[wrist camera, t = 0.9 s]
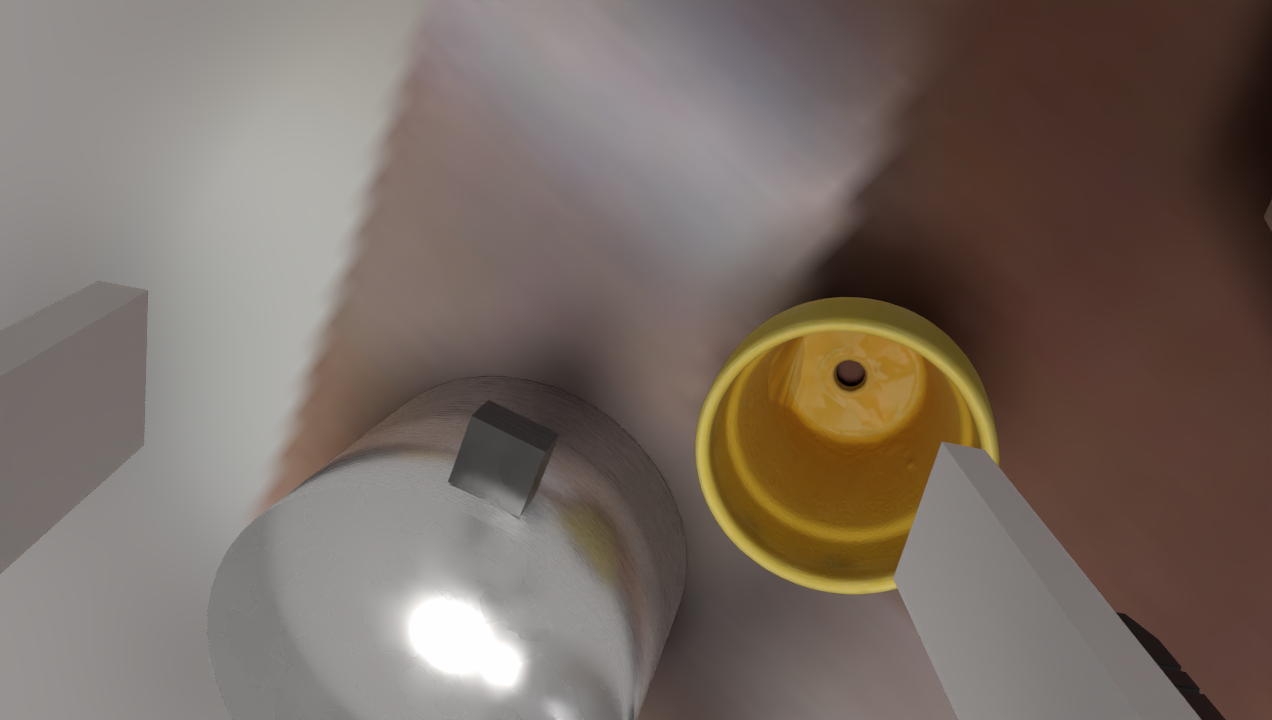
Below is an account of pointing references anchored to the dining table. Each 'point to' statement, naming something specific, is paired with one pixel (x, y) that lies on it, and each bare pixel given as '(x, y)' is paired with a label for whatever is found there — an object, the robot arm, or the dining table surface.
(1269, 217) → the brown clay bowl
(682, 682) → the dining table surface
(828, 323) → the plant pot
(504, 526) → the pressure cooker
